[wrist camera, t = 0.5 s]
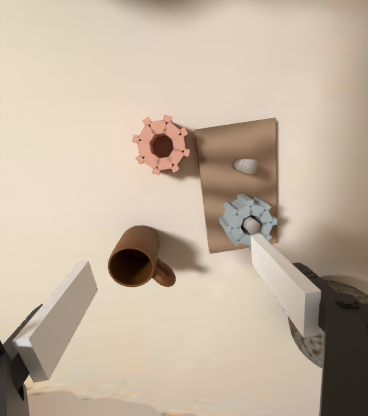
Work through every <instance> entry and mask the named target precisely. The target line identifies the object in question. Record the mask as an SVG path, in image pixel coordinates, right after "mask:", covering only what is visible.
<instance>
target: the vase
mask: <svg viewBox="0 0 368 416" xmlns="http://www.w3.org/2000/svg"><path fill="white" fill-rule="evenodd" d="M325 282H326V283H327V284H328V285H329V286H331V287H332V288H333V289H334V290H335V291H336V292H338V293H344V294H347V295H350V296H352V297H354V298H356V299H357V300H359V301H360V302H361V303H365V304H368V296H367V295H366V294H365V293H363V292H361V291H360V290H358V289H356V288H354V287H352V286H349V285H346V284H343V283H339V282H335V281H325ZM288 320H289V326H290V330H291V334H292V337H293V339H294V341H295V343H296V344H297V346H298V348H299V349H300V351H301V352H302V353H303V354H304V355H305V356H306V357H307V358H308V359H309V360H311V361H312V362H313V363H314V364H316V365H317V366H319V367H321V368H322V367H323V351H324V349H323V348H324V337H325V333H324V332H323V331H322V329H321V328H320V327H319V328H318V335H316V336H310V337H304V338H303V336H302V335H301V334H300V332H299V331H298V329H297V328H296V326H295V325H294V324H293V322H292V321H291V319H290V318H289V317H288Z"/></svg>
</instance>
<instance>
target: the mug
mask: <svg viewBox="0 0 368 416" xmlns="http://www.w3.org/2000/svg"><path fill="white" fill-rule="evenodd" d="M158 249H159V240H158V237H157V235H156V233H155V232H154V231H153V230H152V229H150V228H148V227H146V226H134V227H131V228H130V229H128V230H127V231H126V232H125V233H124V234H123V236H122V237H121V239H120V240H119V242H118V243H117V245H116V247H115V248H114V250H113V252H112V254H111V256H110V258H109V261H108V270H109V273H110V275H111V277H112V278H113V279H114V280H115V281H116V282H117V283H119V284H120V285H123V286H126V287H138V286H141V285H143V284H145V283H147V282H148V281H149V280H150V279H151V278H153V279H154V280H155V281H156V282H158V283H159V284H160V285H162V286H165V287H170V286H173V285H174V283H175V281H176V277H175V274H174V272H173V270H172V269H171V268H170V267H169V266H168V265H166V264H165V263H163V262H162V261H161V260H160V259H159V258H158V257H157V256H158ZM162 273H163V274H162Z"/></svg>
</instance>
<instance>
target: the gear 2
mask: <svg viewBox="0 0 368 416" xmlns="http://www.w3.org/2000/svg"><path fill="white" fill-rule="evenodd" d="M237 197H238V199H236V200H235V201H233V202H231V203H230V204H229V203H228V202H227V201H226V202H225V203H224V205H223V207H224V208H225V212H224V215H223V217H219V223H220V224H221V225H222V227H223V228H224V230H225V231H226V232H225V233H226V234H227V236H228V237H229V239H230V240H231V242H232V243H233V244H234V245H236V246H238V245H239V244H240V243H241V244H246V245H247V246H248V248H249V249H251V235H256V234H261V235H262V236H263V237H264V238H265V239H266V240H267V241H269V240H270V239H271V238H272V236H270V235H269V233H270V231H271V228H272V226H273V225H277V218H275V217H274V216H272V215H271V214H270V213H269V210H270V208H271V206H270V205H268V204H267V203H265V202H263V201H262V200H260V199H258V198H256V197H254V198H253V199H251V198H249V197H247V196H246V195H244V194H240V195H237ZM250 215H251V217H252V218H253V219H255V220H256V221H257V222H258V223H259V224H260V226H261V227H260V230H259V232H257V233H255V234H251V233H249V232H248V231H247V230H246V229H245V228H244V227H243V226H242V225H241V224H242V221H243V219H245V218H246V217H248V216H250Z"/></svg>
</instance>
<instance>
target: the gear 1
mask: <svg viewBox="0 0 368 416" xmlns="http://www.w3.org/2000/svg"><path fill="white" fill-rule="evenodd" d="M143 123H144V125H145V127H144V128H143V130H142V131H141V133H140V135H139V136H137V135H133V140H132V142H134V143H137V145H138V150H139V156H138V157H136V160H137V161H138V163H139V164H142V163H146V164H148V165H149V166H150V167H152V168H153V171H152V173H153V174H157V175H159V174H160V173H161V170H164V169H172V171H173V173H174V172H176V171H177V170H179V167H178V165H177V164H178V163H179V161H180V160H181V158H182V157H183V156H186V157H188V156H189V152H190V150H189V149H185V142H184V137H186V136H187V134H188V133H187V131H186V129H185V127H184V128H182V129H178V128H177V127H176V126H175V125H173V124H172V117H171V116H168V115H164V119H163V120H160V121H153V122H152V121H151V120H150V118H149V117H147V118H146V119H144V120H143ZM162 136H166V137H168V138H169V139H170V140H171V141H172V142H173V149H174V150H173V151H172V152H171V154H170V155H169V157H164V158H160V157H159V156H158V155H156V154H155V153H154V150H153V145H152V144H153V143H154V141H155V140H156V138H157V137H162ZM181 151H182V152H181ZM172 164H173V165H172Z"/></svg>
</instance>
